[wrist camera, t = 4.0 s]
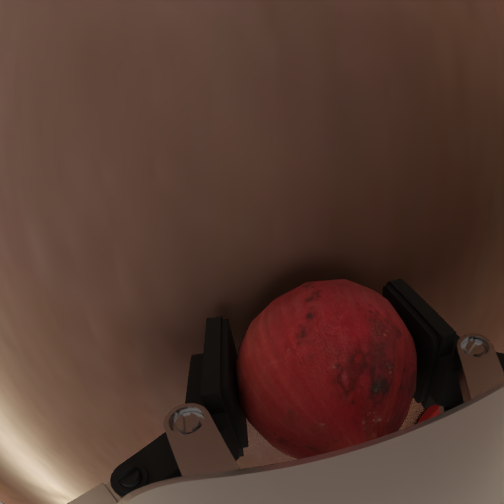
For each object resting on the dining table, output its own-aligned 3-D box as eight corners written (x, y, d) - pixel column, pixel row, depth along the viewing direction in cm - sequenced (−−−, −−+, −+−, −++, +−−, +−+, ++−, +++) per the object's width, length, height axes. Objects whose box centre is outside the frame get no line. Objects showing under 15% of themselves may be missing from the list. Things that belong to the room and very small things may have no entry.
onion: (266, 225, 12) (331, 382, 4) (389, 272, 13) (508, 397, 5) (215, 347, 13) (212, 520, 6) (328, 374, 14) (381, 515, 7)
